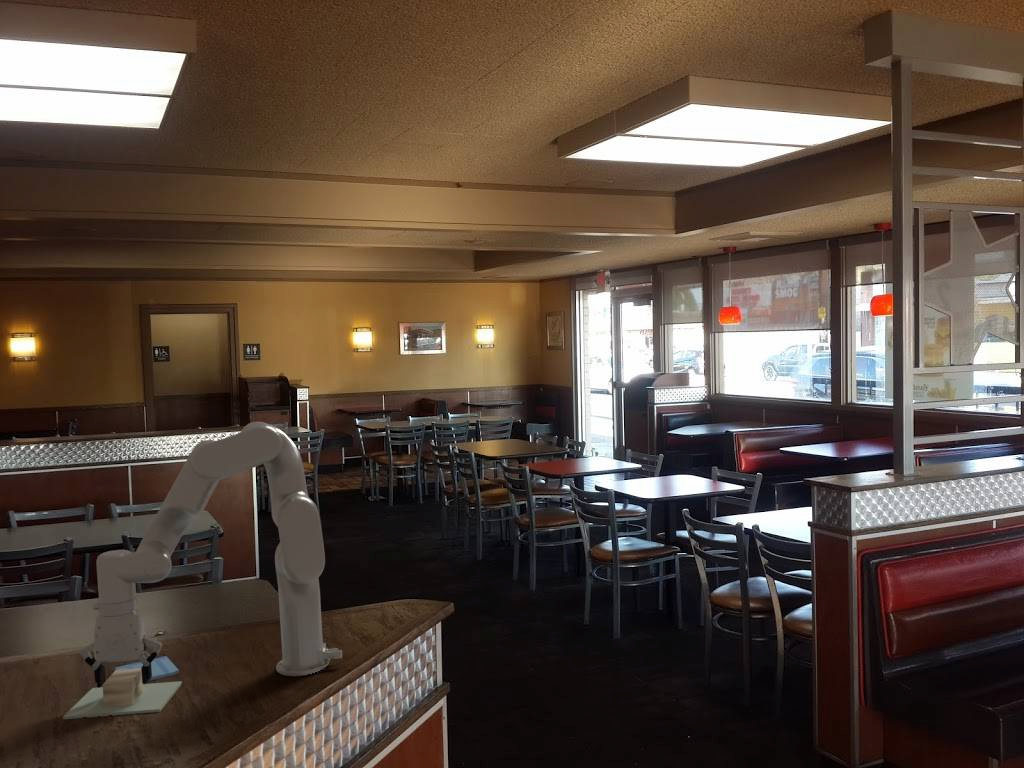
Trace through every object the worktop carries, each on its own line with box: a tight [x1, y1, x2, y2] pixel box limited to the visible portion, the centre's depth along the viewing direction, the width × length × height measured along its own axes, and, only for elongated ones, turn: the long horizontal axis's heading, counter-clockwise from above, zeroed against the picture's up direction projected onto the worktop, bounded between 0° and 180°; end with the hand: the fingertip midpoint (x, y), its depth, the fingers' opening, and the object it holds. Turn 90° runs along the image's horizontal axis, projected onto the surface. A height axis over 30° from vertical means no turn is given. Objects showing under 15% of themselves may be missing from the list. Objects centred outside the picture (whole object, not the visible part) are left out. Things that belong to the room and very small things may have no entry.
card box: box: [102, 668, 145, 707], centre depth 199 cm, size 9×6×5 cm, turn 7°
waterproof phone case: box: [114, 655, 180, 682], centre depth 217 cm, size 14×12×1 cm
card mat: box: [62, 680, 183, 720], centre depth 199 cm, size 20×16×1 cm
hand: (124, 683), depth 199 cm, fingers open, 9 cm apart
